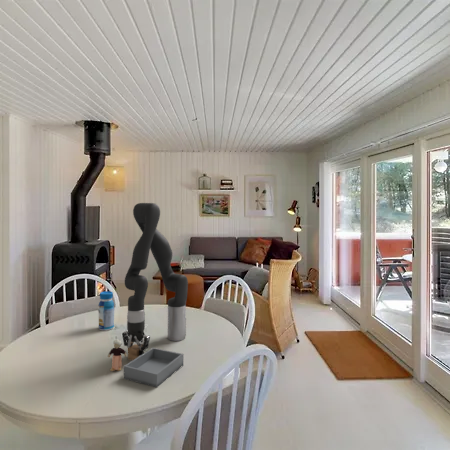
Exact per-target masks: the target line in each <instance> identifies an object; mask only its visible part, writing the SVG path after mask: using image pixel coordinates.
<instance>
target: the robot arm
mask: <svg viewBox="0 0 450 450" xmlns="http://www.w3.org/2000/svg"><path fill="white" fill-rule="evenodd" d="M132 213H133V214H132V215H133V218H134V220H135V222H136V224H137V225H138V227H139V229H140V230H141V232H142V235H140V237H139V239H138V240H137V242H136V244H135V246H134V248H133V251H132V256H131V260H130V261H131V262H130V265H129V268H128V270H127V271H126V272H127V273H126V274H125V277H124V287H125V288H126V289H127V290H130V291H133V292H134V294H133V295H130V296H129V297H128V300H127V315H126V317H127V318H126V319H127V320H126V331H124V332H122V334H121V335H122V339H123V340H122V341H123V346H124V347H127V349H128V348H129V347H131V346H133V345H134V344H137V346H138V347H139V356H140V355H142V354H144V353H145V350H146V349H148V348H149V345H150V339H151V335H146V334H145V327H146V323H145V322H146V321H145V320H146V319H145V318H146V317H145V315H146V314H145V298H146V295H147V291H148V287H149V282H148V279H147V277H146V276H144V275H140V272H141V271H142V270H146V269H147V266H148V263H149V256H150V251H151V254H152V256H153V258H154V260H155V261H156V265H157V267H158V269H159V272H160V275H161V279H162V282H163V285H164V287H165V289H166V290H167V291H169V292H173V293H175V294H174V297H171V298H169V299H168V300H167V340H170V341H173V342H174V341H176V342H179V341H183V340H185V339H186V336H187V317H186V316H187V315H186V313H187V312H186V311H187V308H186V307H187V305H186V304H187V301H188V300H187V299H188V291H189V290H188V288H189V280H188V277H187V276H186V275H184V274H181V273H180V274H179V273H175V272H174V270H173V269H172V266H171V265H172V263H171V262H172V258H173V249H172V248H171V245H170V242H169V241H168V239H167V238H166V237H165V236H164V235H163V234H162V233H161V232H160V230H158V229H157V228H158V225H159V221H160V218H161V208H160V206H159V205H158V204H157V203H153V202H139V203H136V204H135V205H134V207H133V210H132Z"/></svg>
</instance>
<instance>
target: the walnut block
mask: <svg viewBox="0 0 450 450" xmlns="http://www.w3.org/2000/svg"><path fill="white" fill-rule="evenodd" d="M137 357H139V347H138V346H137V343H133V346H131V347H129V348H128V347H127V360H130V361H133V360H134V359H136V358H137Z"/></svg>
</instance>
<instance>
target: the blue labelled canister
mask: <svg viewBox="0 0 450 450" xmlns="http://www.w3.org/2000/svg"><path fill="white" fill-rule="evenodd" d="M113 294H114V292H113V291H108V290H107V291H101V292H100V293H99V302H98V310H97V312H98V330H99V331H110V330H113V329H114V328H115V307H114V306H115V301H114V300H113V298H114V295H113ZM113 327H114V328H113ZM112 328H113V329H112Z"/></svg>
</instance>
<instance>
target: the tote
mask: <svg viewBox="0 0 450 450" xmlns="http://www.w3.org/2000/svg"><path fill="white" fill-rule="evenodd" d="M181 366H182V367H183V366H184V353H182V352H175V351H173V350H172V351H171V350H166V349H161V348H156V347H151V348H150V349H149V350H147V351H144V354H142V355H140V356H139V357H137V358H136V359H134V360H130V361H129V362H128V363H126V364H124V365H123V379H124V380H128V381H131V382H136V383H139V384H142V385H147V386H150V387H153V388H158V387H159V386H160V385H162V384H163V383H164V382H166V381H167V380H168V379H169V378H170V377H171V376H172V374H173V373H174V372H175V371H176V372H178V371H179V370H180V369H181V368H182V367H181ZM180 367H181V368H180ZM179 368H180V369H179ZM178 369H179V370H178ZM176 372H175V373H176ZM175 373H174V374H175ZM174 374H173V375H174ZM167 378H168V379H167ZM166 379H167V380H166Z"/></svg>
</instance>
